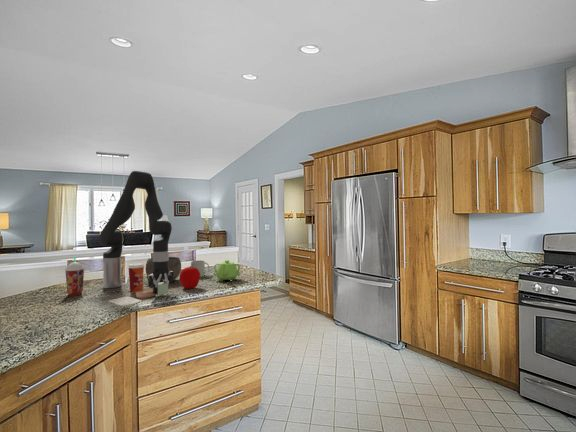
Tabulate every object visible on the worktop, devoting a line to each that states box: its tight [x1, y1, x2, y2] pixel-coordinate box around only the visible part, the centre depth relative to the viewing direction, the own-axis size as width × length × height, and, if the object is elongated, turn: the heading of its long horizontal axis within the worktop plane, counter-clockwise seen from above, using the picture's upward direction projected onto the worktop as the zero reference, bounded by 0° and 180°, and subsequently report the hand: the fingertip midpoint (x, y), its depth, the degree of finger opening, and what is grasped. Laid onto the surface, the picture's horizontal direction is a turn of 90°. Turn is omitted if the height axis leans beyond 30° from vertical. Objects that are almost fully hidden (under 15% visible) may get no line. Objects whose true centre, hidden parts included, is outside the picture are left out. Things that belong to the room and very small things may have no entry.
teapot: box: [213, 259, 242, 282], centre depth 199 cm, size 16×14×13 cm
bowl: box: [145, 256, 182, 283], centre depth 196 cm, size 21×21×15 cm
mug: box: [190, 260, 210, 278], centre depth 213 cm, size 11×10×10 cm
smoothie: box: [64, 256, 85, 297], centre depth 166 cm, size 8×8×20 cm
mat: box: [108, 295, 142, 307], centre depth 155 cm, size 17×26×1 cm, turn 144°
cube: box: [157, 282, 169, 296], centre depth 159 cm, size 5×5×5 cm
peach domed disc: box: [135, 288, 156, 299], centre depth 160 cm, size 9×9×2 cm
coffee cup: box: [127, 262, 145, 293], centre depth 171 cm, size 8×8×15 cm
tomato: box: [179, 265, 201, 290], centre depth 177 cm, size 11×11×13 cm
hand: (160, 293), depth 159 cm, fingers closed on cube, 5 cm apart
